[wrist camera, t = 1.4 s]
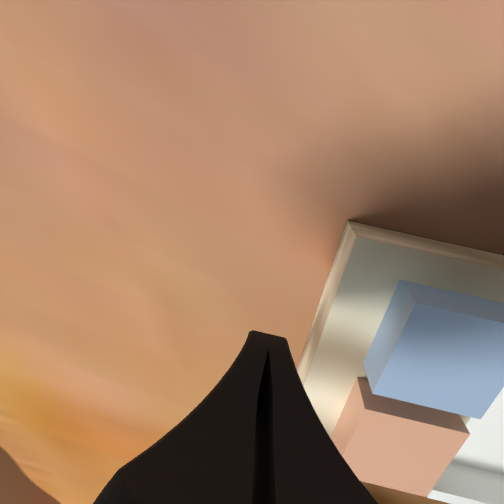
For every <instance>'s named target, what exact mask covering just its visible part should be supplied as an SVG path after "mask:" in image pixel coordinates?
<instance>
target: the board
mask: <svg viewBox="0 0 504 504" xmlns="http://www.w3.org/2000/svg"><path fill="white" fill-rule="evenodd" d="M399 280H405V281H409V282H413V283H418V284H422V285H426V286H431V287H435V288H440V289H444V290H448V291H453V292H457V293H462V294H466V295H470V296H475V297H479V298H484V299H488V300H492V301H497V302H501V303H504V255H500V254H496V253H491V252H487V251H482V250H478V249H473V248H469V247H464V246H460V245H455V244H451V243H446V242H442V241H437V240H433V239H429V238H424V237H420V236H415V235H411V234H406V233H402V232H397V231H393V230H388V229H384V228H379V227H375V226H370V225H366V224H361V223H357V222H352V221H348V220H347V222H346V225H345V228H344V231H343V234H342V237H341V240H340V243H339V246H338V249H337V252H336V255H335V258H334V261H333V264H332V267H331V270H330V273H329V276H328V279H327V282H326V285H325V288H324V291H323V294H322V297H321V300H320V303H319V306H318V309H317V312H316V315H315V318H314V321H313V324H312V327H311V330H310V333H309V336H308V339H307V342H306V345H305V348H304V351H303V354H302V357H301V360H300V363H299V366H298V369H297V372H298V375H299V377H300V379H301V382H302V384H303V387H304V389H305V391H306V393H307V396H308V398H309V400H310V402H311V404H312V406H313V408H314V410H315V412H316V414H317V416H318V417H319V419H320V421H321V423H322V425H323V426H324V428H325V430H326V431H327V433H328V435H329V437H331V435H332V432H333V430H334V428H335V426H336V423H337V421H338V419H339V417H340V414H341V412H342V410H343V407H344V405H345V403H346V401H347V398H348V396H349V394H350V392H351V389H352V387H353V385H354V383H355V380H356V378H357V377H358V378H362V379H366V380H368V378H367V374H366V371H365V368H364V364H363V362H364V360H365V358H366V355H367V353H368V351H369V348H370V346H371V344H372V342H373V339H374V337H375V335H376V333H377V330H378V328H379V326H380V324H381V321H382V319H383V317H384V314H385V312H386V310H387V308H388V305H389V303H390V301H391V299H392V296H393V294H394V292H395V289H396V287H397V285H398V283H399ZM459 415H460V414H459ZM460 417H461V419H462V420H463V422H464V424H465V426H466V424H467V423H468V421H469V420H470V419H471V417H468V416H464V415H460Z"/></svg>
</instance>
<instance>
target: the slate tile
mask: <svg viewBox="0 0 504 504" xmlns="http://www.w3.org/2000/svg"><path fill="white" fill-rule="evenodd" d="M363 364H364V368H365V371H366V374H367V378H368V381H369V384H370V388H371V391H372V394H376V395H380V396H384V397H388V398H393V399H397V400H401V401H405V402H409V403H414V404H418V405H422V406H426V407H430V408H435V409H439V410H443V411H447V412H451V413H456V414H460V415H464V416H468V417H472V418H477V419H481V418H482V417H483V416H484V414H485V413H486V411H487V410H488V408H489V407H490V406H491V404H492V403H493V401H494V400H495V398H496V397H497V396H498V394H499V393H500V391H501V390H502V388H503V387H504V303H501V302H497V301H492V300H488V299H484V298H479V297H475V296H470V295H466V294H462V293H457V292H453V291H448V290H444V289H440V288H435V287H431V286H426V285H422V284H418V283H413V282H409V281H405V280H399V283H398V285H397V287H396V289H395V292H394V294H393V296H392V299H391V301H390V303H389V305H388V308H387V310H386V312H385V314H384V317H383V319H382V321H381V324H380V326H379V328H378V330H377V333H376V335H375V337H374V339H373V342H372V344H371V346H370V348H369V351H368V353H367V355H366V358H365V360H364V362H363Z"/></svg>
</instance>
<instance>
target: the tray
mask: <svg viewBox="0 0 504 504" xmlns="http://www.w3.org/2000/svg"><path fill="white" fill-rule="evenodd" d="M466 427H467V429H468V431H469V433H470V435H469V437H468V438H467V440H466V441H465V443H464V444H463V445H462V447H461V448H460V450H459V451H458V453H457V454H456V455H455V457H454V458H453V460H452V461H451V462H450V464H449V465H448V467H447V468H446V470H445V471H444V472H443V474H442V475H441V477H440V478H439V480H438V481H437V482H436V484H435V485H434V487H433V488H432V490H431V491H430V492H429V494H428V495H427V498H430V499H434V500H438V501H442V502H446V503H450V504H504V387H503V388H502V390H501V391H500V393H499V394H498V396H497V397H496V398H495V400H494V401H493V403H492V404H491V406H490V407H489V408H488V410H487V411H486V413H485V414H484V416H483V417H482V418H481V419H477V418H472V417H471V419H470V420H469V421H468V423H467V424H466Z"/></svg>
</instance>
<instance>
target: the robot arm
mask: <svg viewBox="0 0 504 504" xmlns="http://www.w3.org/2000/svg"><path fill="white" fill-rule="evenodd" d="M93 504H378V503H377V502H376V501H375V500H374V498H373V497H372V496H371V495H370V493H369V492H368V491H367V489H366V488H365V487H364V486H363V484H362V483H361V482H360V481H359V479H358V478H357V476H356V475H355V474H354V472H353V471H352V469H351V468H350V467H349V465H348V464H347V462H346V461H345V459H344V458H343V457H342V455H341V454H340V452H339V451H338V449H337V448H336V446H335V444H334V443H333V441H332V440H331V438H330V437H329V435H328V433H327V431H326V430H325V428H324V426H323V425H322V423H321V421H320V419H319V417H318V416H317V414H316V412H315V410H314V408H313V406H312V404H311V402H310V400H309V398H308V396H307V393H306V391H305V389H304V387H303V384H302V382H301V379H300V377H299V375H298V372H297V370H296V367H295V364H294V361H293V359H292V356H291V352H290V349H289V346H288V342H287V340H286V338H283V337H279V336H275V335H271V334H266V333H262V332H258V331H254V330H252V331H250V332H249V334H248V337H247V340H246V342H245V344H244V346H243V348H242V350H241V351H240V353H239V355H238V356H237V358H236V359H235V361H234V362H233V364H232V365H231V367H230V368H229V370H228V371H227V372H226V374H225V375H224V376H223V377H222V379H221V380H220V381H219V383H218V384H217V385H216V386H215V387H214V389H213V390H212V391H211V392H210V393H209V394H208V395H207V396H206V398H205V399H204V400H203V401H202V402H201V403H200V404H199V405H198V406H197V407H196V408H195V409H194V410H193V411H192V412H191V413H190V414H189V415H188V416H187V417H186V418H184V419H183V420H182V421H181V422H180V423H179V424H178V425H177V426H175V427H174V428H173V429H172V430H171V431H169V432H168V433H167V434H166V435H165V436H163V437H162V438H161V439H160V440H158V441H157V442H156V443H155V444H153V445H152V446H151V447H149V448H148V449H147V450H145V451H144V452H143V453H141V454H140V455H138V456H137V457H135V458H134V459H133V460H131V461H130V462H128V463H127V464H126V465H124V466H123V467H121V468H120V469H119V470H118V471H117V472H116V473H115V475H114V476H113V477H112V478H111V480H110V481H109V482H108V483H107V485H106V486H105V487H104V489H103V490H102V491H101V493H100V494H99V496H98V497H97V498H96V500H95V502H94V503H93Z"/></svg>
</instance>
